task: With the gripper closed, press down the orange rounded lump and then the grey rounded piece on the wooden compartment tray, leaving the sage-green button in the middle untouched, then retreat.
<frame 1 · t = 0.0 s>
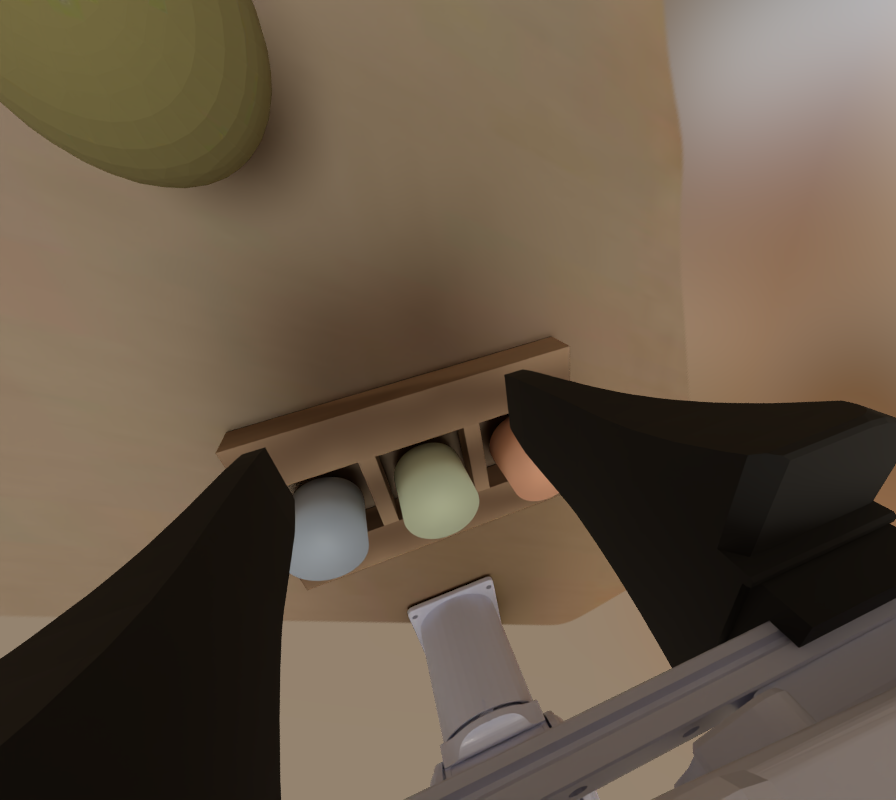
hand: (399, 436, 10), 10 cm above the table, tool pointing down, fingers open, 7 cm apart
grey rounded piece: (327, 527, 20), point 3 cm above the table, slide at 0.0 cm
orange rounded lump: (532, 455, 22), point 3 cm above the table, slide at 0.0 cm
light bulb: (221, 120, 14), on the table
sage button: (434, 489, 21), point 3 cm above the table, slide at 0.0 cm
wooden compartment tray: (423, 457, 24), on the table
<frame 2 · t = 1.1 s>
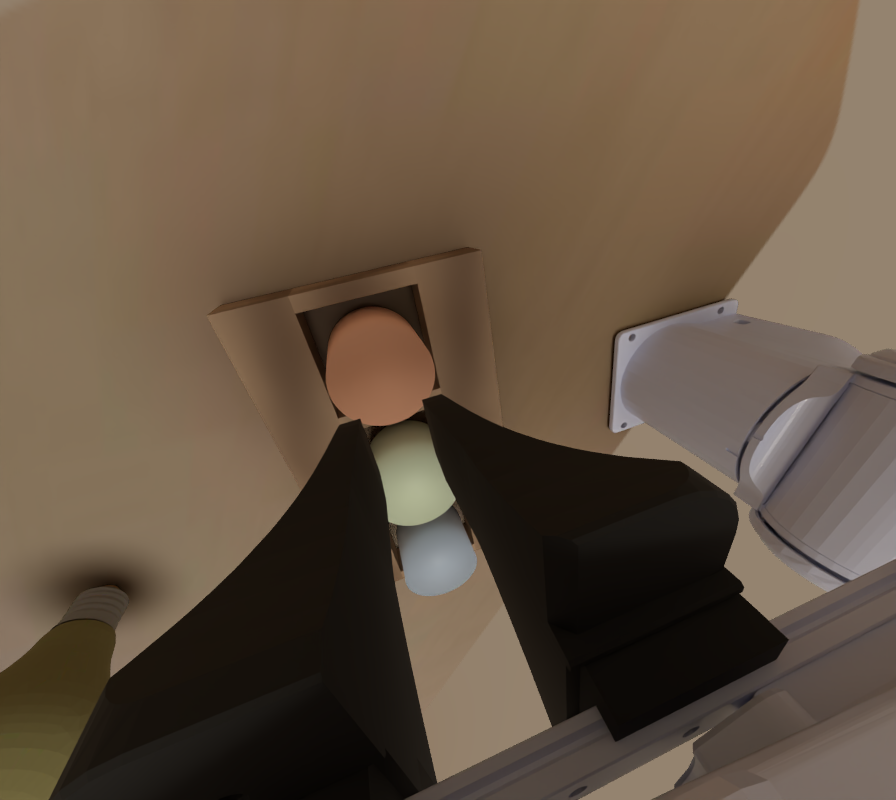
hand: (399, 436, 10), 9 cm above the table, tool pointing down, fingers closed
grey rounded piece: (434, 547, 22), point 3 cm above the table, slide at 0.0 cm
orange rounded lump: (378, 364, 16), point 3 cm above the table, slide at 0.0 cm
light bulb: (112, 587, 21), on the table
sage button: (411, 471, 19), point 3 cm above the table, slide at 0.0 cm
wooden compartment tray: (401, 439, 22), on the table
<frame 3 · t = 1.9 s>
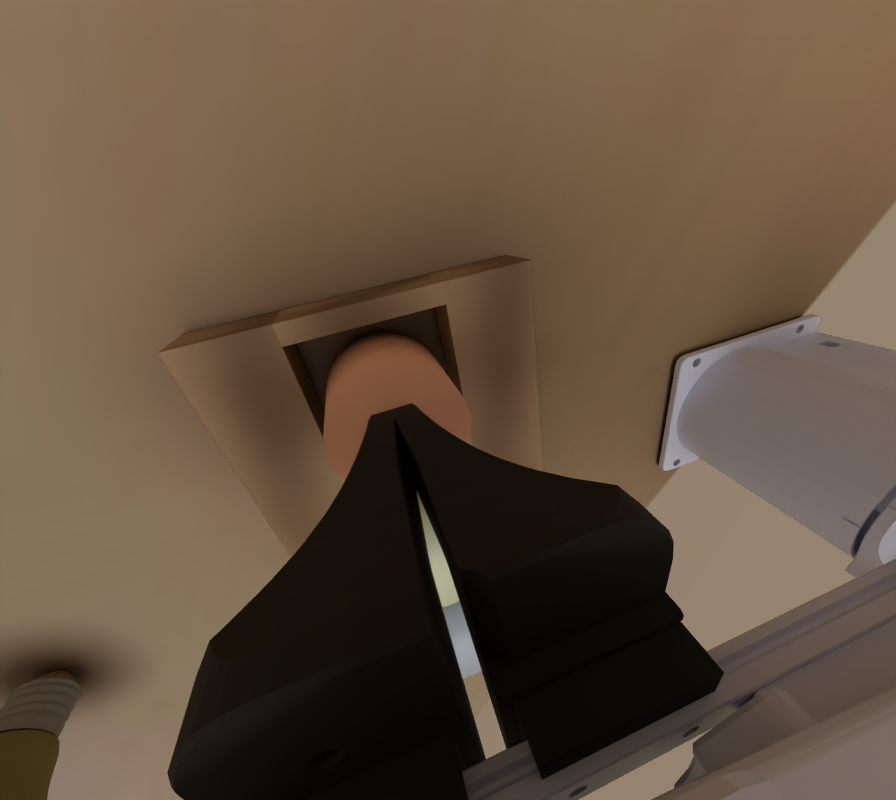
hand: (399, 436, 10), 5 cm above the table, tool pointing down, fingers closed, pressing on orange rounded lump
grey rounded piece: (457, 617, 18), point 3 cm above the table, slide at 0.0 cm
orange rounded lump: (393, 410, 12), point 3 cm above the table, slide at 0.2 cm, touching gripper
light bulb: (62, 671, 17), on the table
sage button: (432, 537, 15), point 3 cm above the table, slide at 0.0 cm
wooden compartment tray: (417, 487, 18), on the table
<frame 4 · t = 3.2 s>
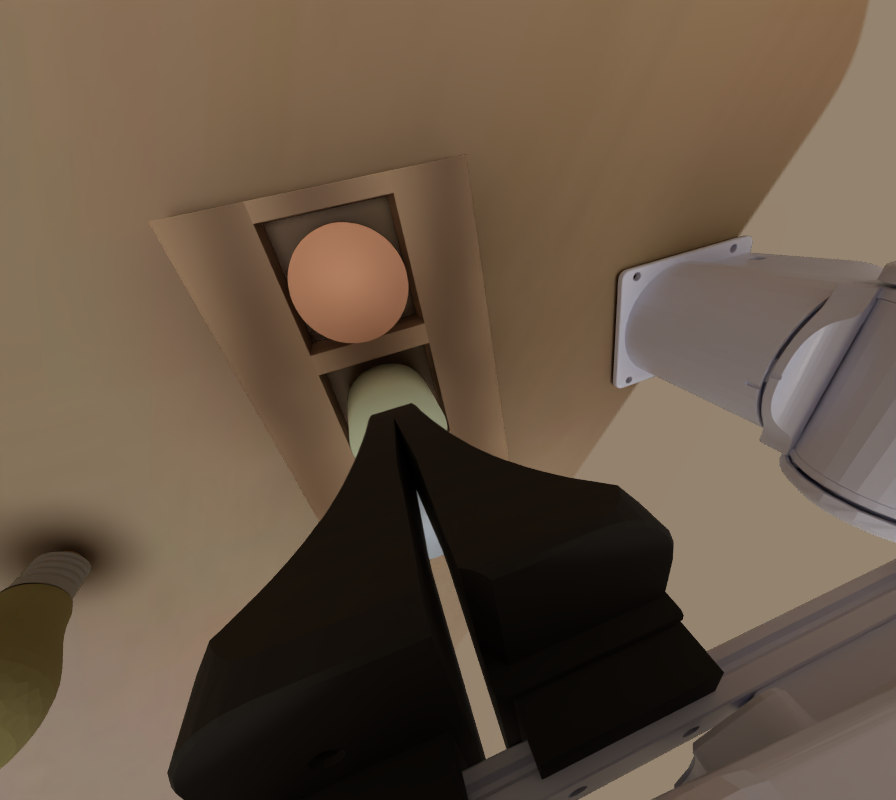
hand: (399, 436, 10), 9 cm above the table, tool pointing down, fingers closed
grey rounded piece: (424, 508, 20), point 3 cm above the table, slide at 0.0 cm
orange rounded lump: (349, 280, 15), point 2 cm above the table, slide at 1.0 cm
light bulb: (74, 553, 19), on the table
sage button: (394, 417, 17), point 3 cm above the table, slide at 0.0 cm
wooden compartment tray: (386, 390, 20), on the table
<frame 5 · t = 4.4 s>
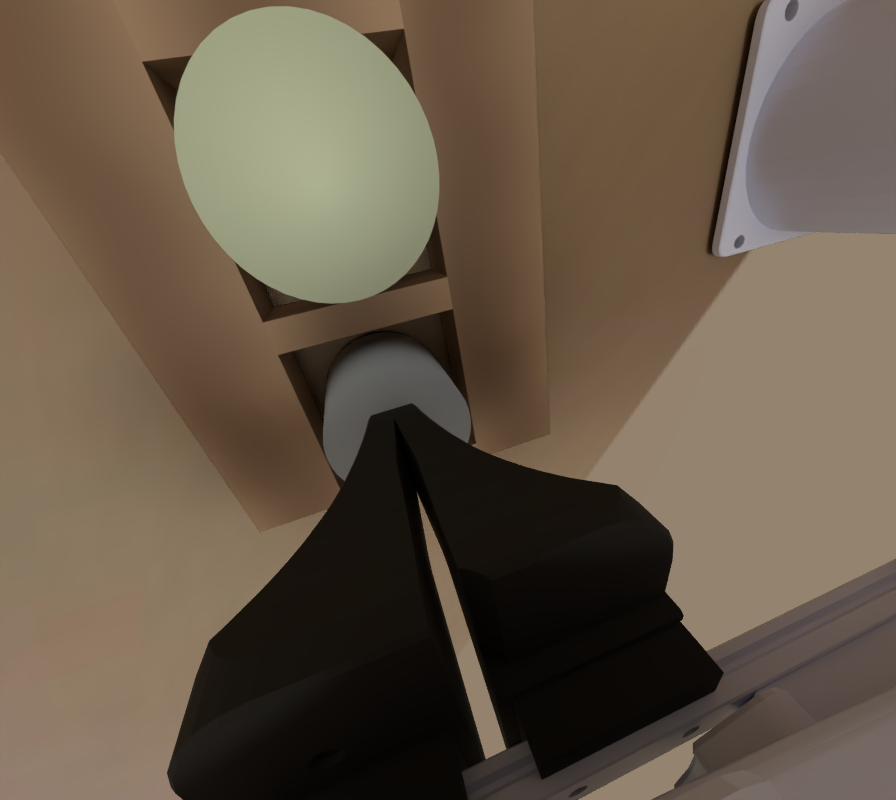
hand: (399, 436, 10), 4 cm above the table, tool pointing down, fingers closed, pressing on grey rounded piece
grey rounded piece: (393, 409, 12), point 2 cm above the table, slide at 1.0 cm, touching gripper
sage button: (324, 187, 8), point 3 cm above the table, slide at 0.0 cm
wooden compartment tray: (327, 196, 10), on the table
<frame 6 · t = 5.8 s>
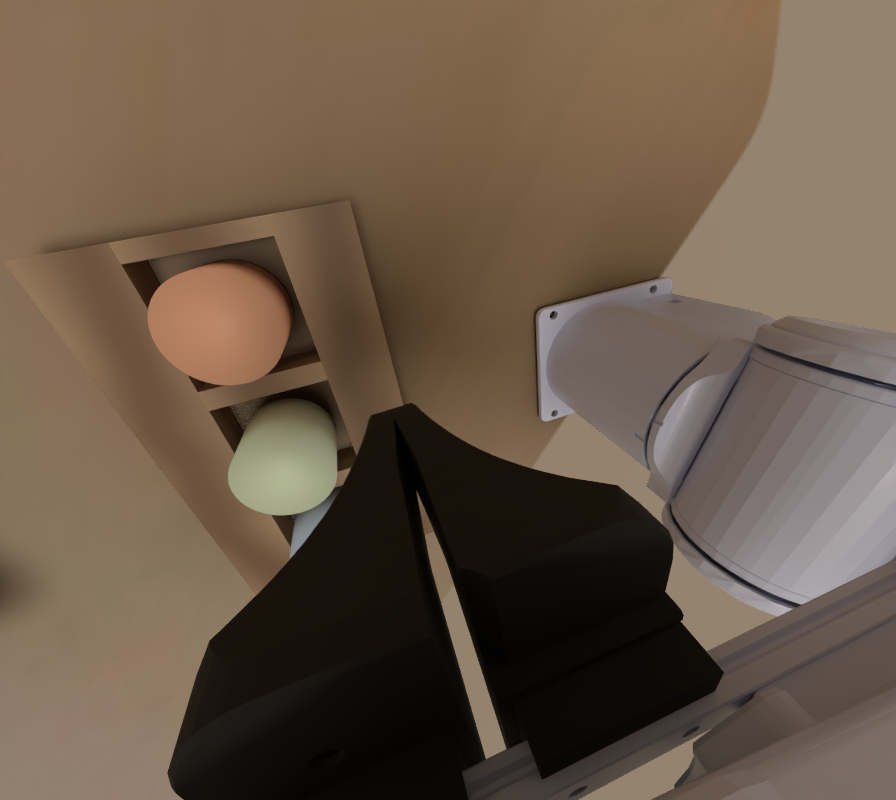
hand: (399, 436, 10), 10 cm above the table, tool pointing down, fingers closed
grey rounded piece: (332, 528, 21), point 2 cm above the table, slide at 1.0 cm
orange rounded lump: (232, 320, 14), point 2 cm above the table, slide at 1.0 cm
sage button: (289, 454, 17), point 3 cm above the table, slide at 0.0 cm
wooden compartment tray: (295, 421, 20), on the table
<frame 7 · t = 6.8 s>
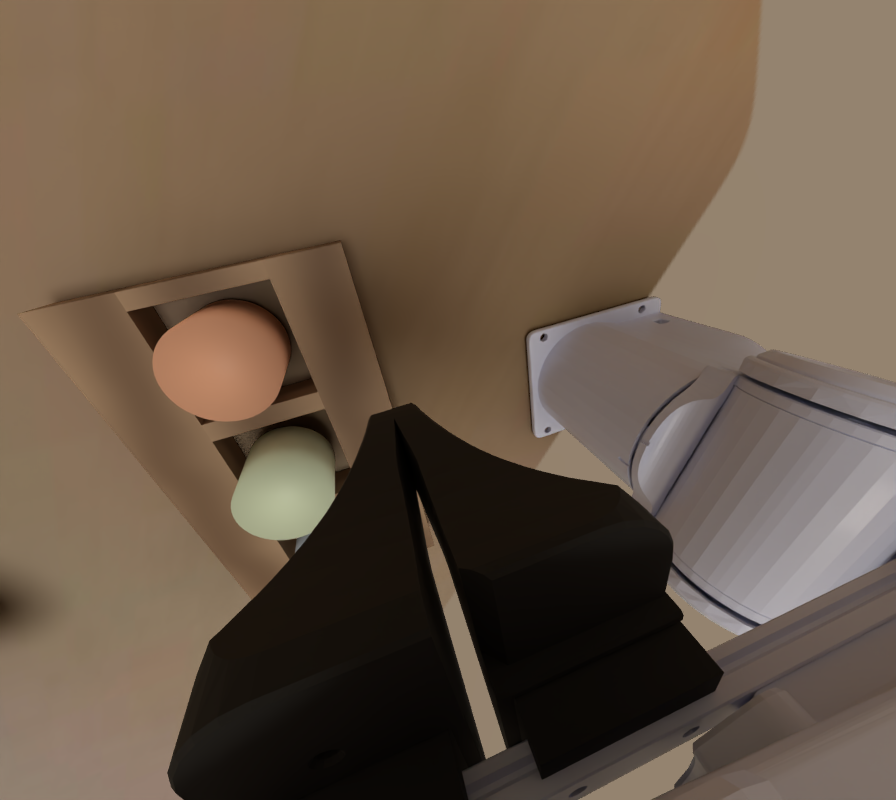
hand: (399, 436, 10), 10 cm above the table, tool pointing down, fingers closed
grey rounded piece: (333, 546, 22), point 2 cm above the table, slide at 1.0 cm
orange rounded lump: (232, 358, 15), point 2 cm above the table, slide at 1.0 cm
sage button: (289, 481, 18), point 3 cm above the table, slide at 0.0 cm
wooden compartment tray: (295, 445, 20), on the table
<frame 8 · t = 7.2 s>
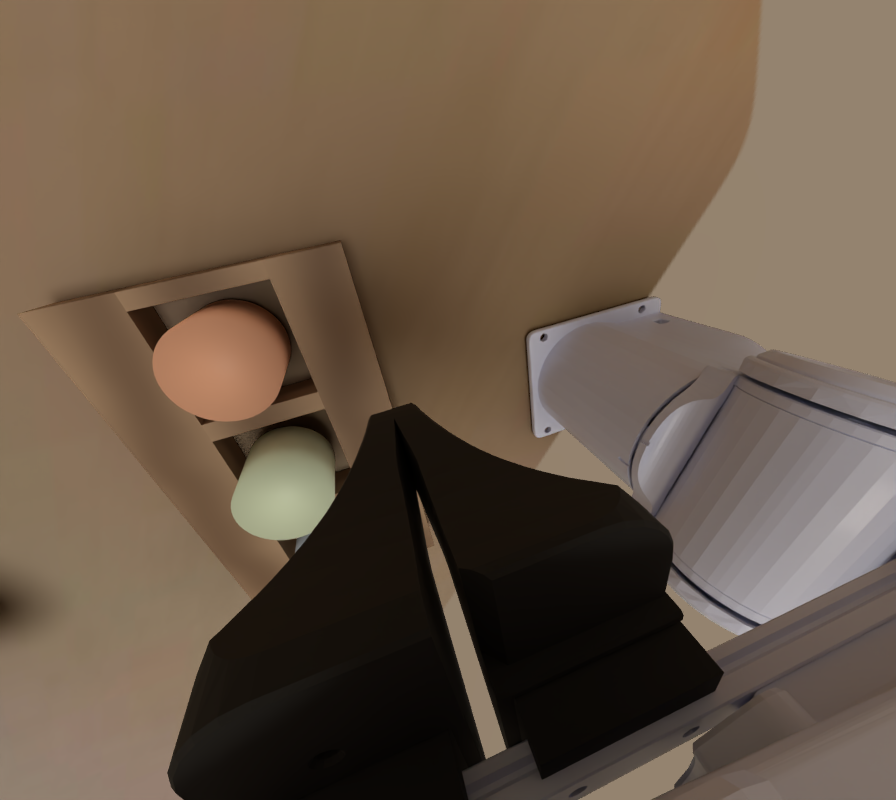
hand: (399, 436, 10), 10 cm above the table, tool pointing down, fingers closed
grey rounded piece: (333, 546, 22), point 2 cm above the table, slide at 1.0 cm
orange rounded lump: (232, 358, 15), point 2 cm above the table, slide at 1.0 cm
sage button: (289, 481, 18), point 3 cm above the table, slide at 0.0 cm
wooden compartment tray: (295, 445, 20), on the table
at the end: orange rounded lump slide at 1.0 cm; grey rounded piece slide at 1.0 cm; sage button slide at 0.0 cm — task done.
